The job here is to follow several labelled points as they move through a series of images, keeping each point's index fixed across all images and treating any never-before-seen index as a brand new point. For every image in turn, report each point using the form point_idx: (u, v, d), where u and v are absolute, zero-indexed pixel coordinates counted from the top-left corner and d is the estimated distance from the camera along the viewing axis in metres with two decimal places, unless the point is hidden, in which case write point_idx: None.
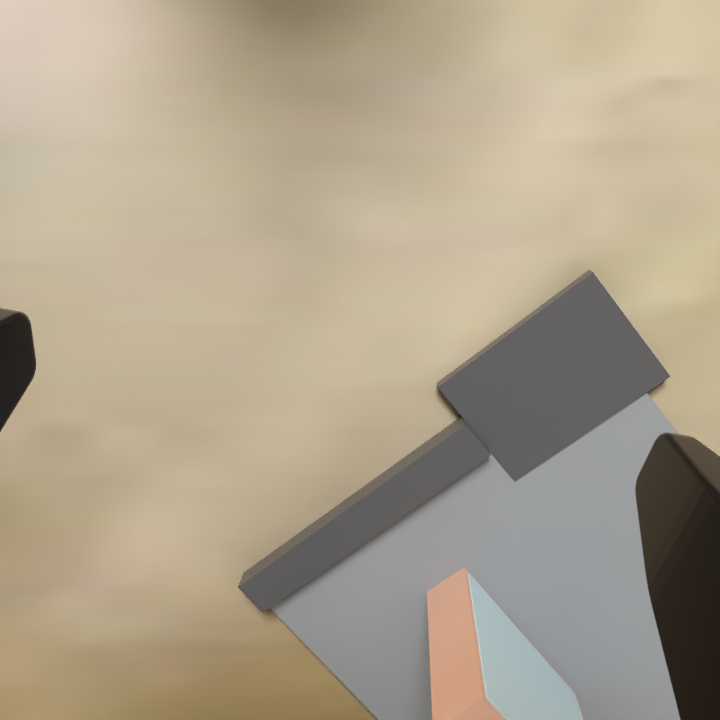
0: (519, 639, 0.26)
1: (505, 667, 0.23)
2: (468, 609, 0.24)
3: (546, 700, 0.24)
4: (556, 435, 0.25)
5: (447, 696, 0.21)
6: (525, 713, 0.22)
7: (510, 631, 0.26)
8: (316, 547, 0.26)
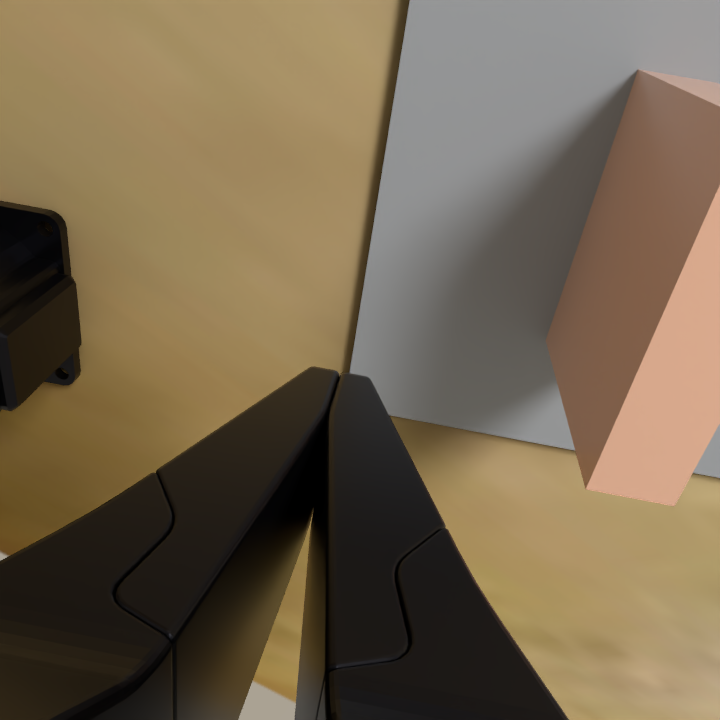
0: None
1: None
2: None
3: None
4: None
5: None
6: None
7: None
8: None
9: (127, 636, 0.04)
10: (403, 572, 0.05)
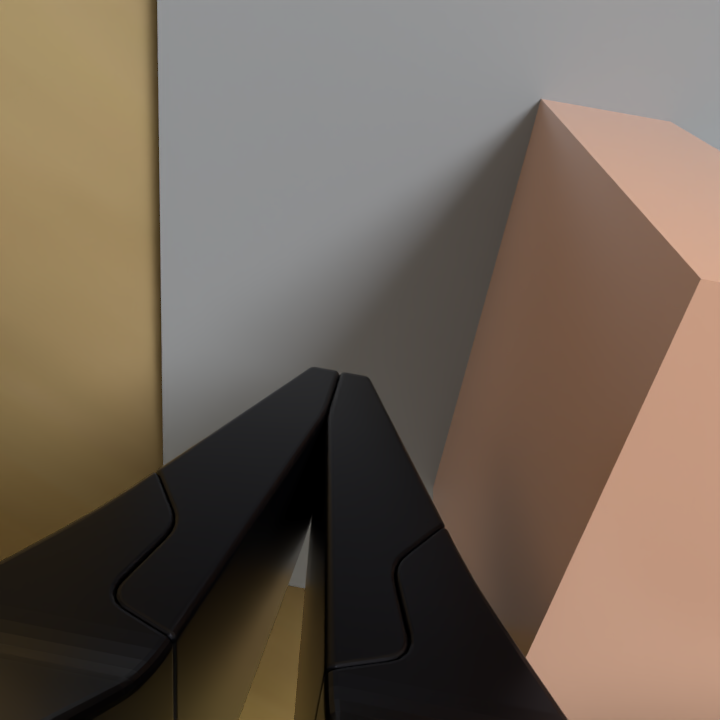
0: None
1: None
2: None
3: None
4: None
5: None
6: None
7: None
8: None
9: (129, 635, 0.04)
10: (403, 571, 0.05)
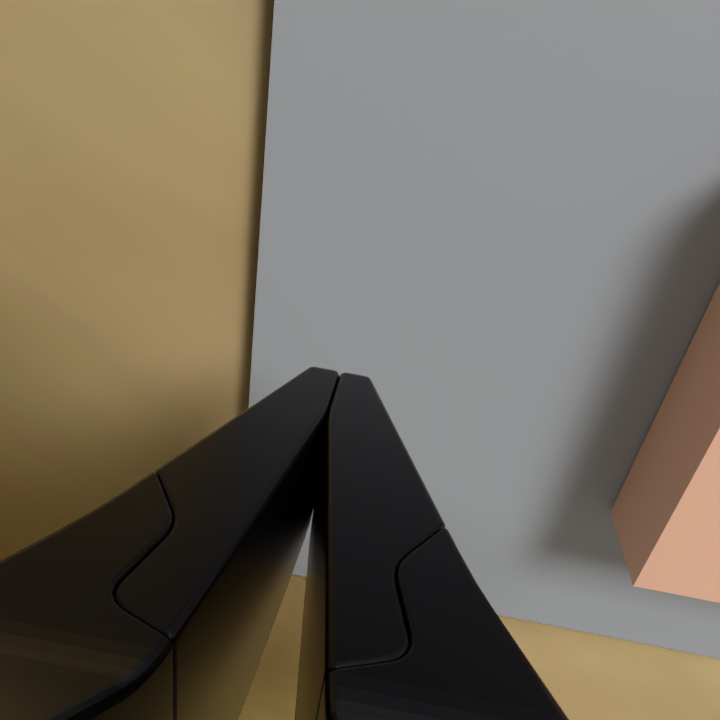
0: None
1: None
2: None
3: None
4: None
5: None
6: None
7: None
8: None
9: (127, 637, 0.04)
10: (403, 571, 0.05)
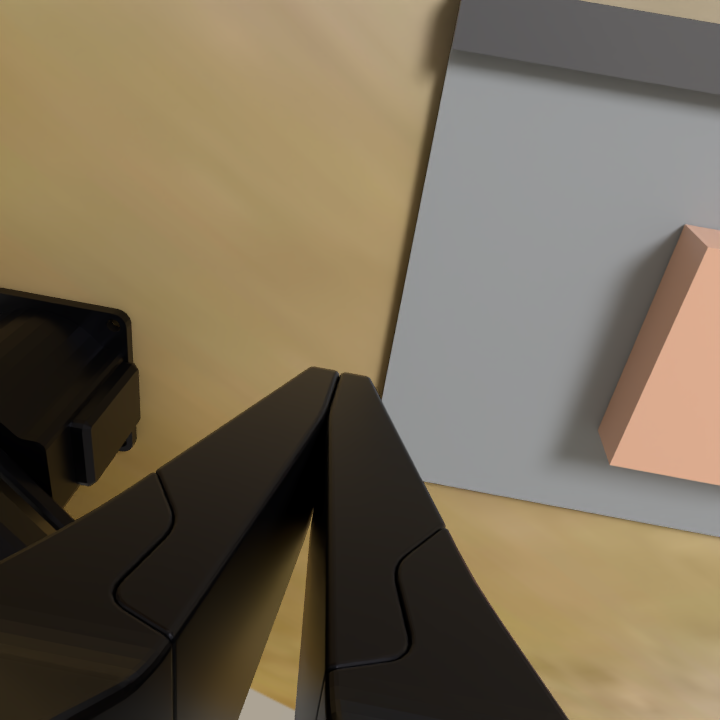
0: None
1: None
2: None
3: None
4: None
5: None
6: None
7: None
8: (608, 31, 0.17)
9: (127, 637, 0.04)
10: (403, 572, 0.05)
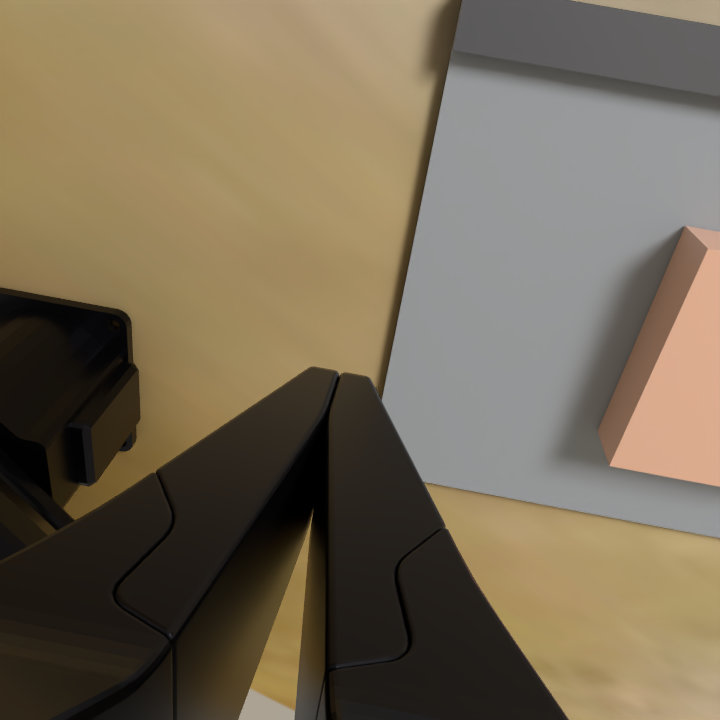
0: None
1: None
2: None
3: None
4: None
5: None
6: None
7: None
8: (609, 33, 0.17)
9: (127, 636, 0.04)
10: (403, 572, 0.05)
